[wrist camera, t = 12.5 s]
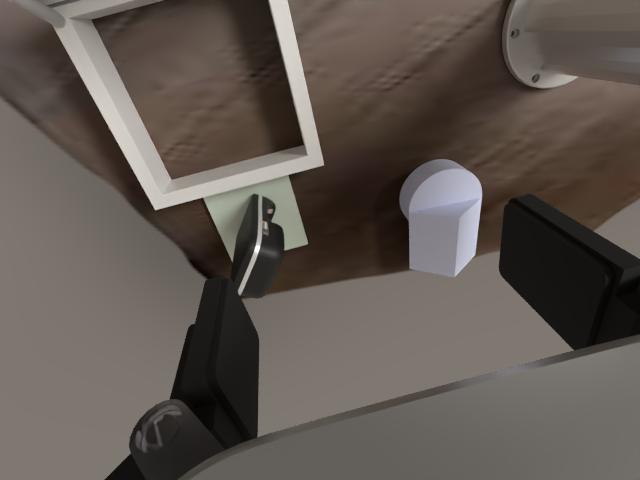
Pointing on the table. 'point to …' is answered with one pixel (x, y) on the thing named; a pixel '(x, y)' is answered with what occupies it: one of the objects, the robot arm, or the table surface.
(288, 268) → the table surface
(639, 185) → the table surface
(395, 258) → the table surface
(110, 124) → the white bent frame
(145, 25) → the table surface
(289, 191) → the pad
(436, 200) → the wedge on round base
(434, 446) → the robot arm
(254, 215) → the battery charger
